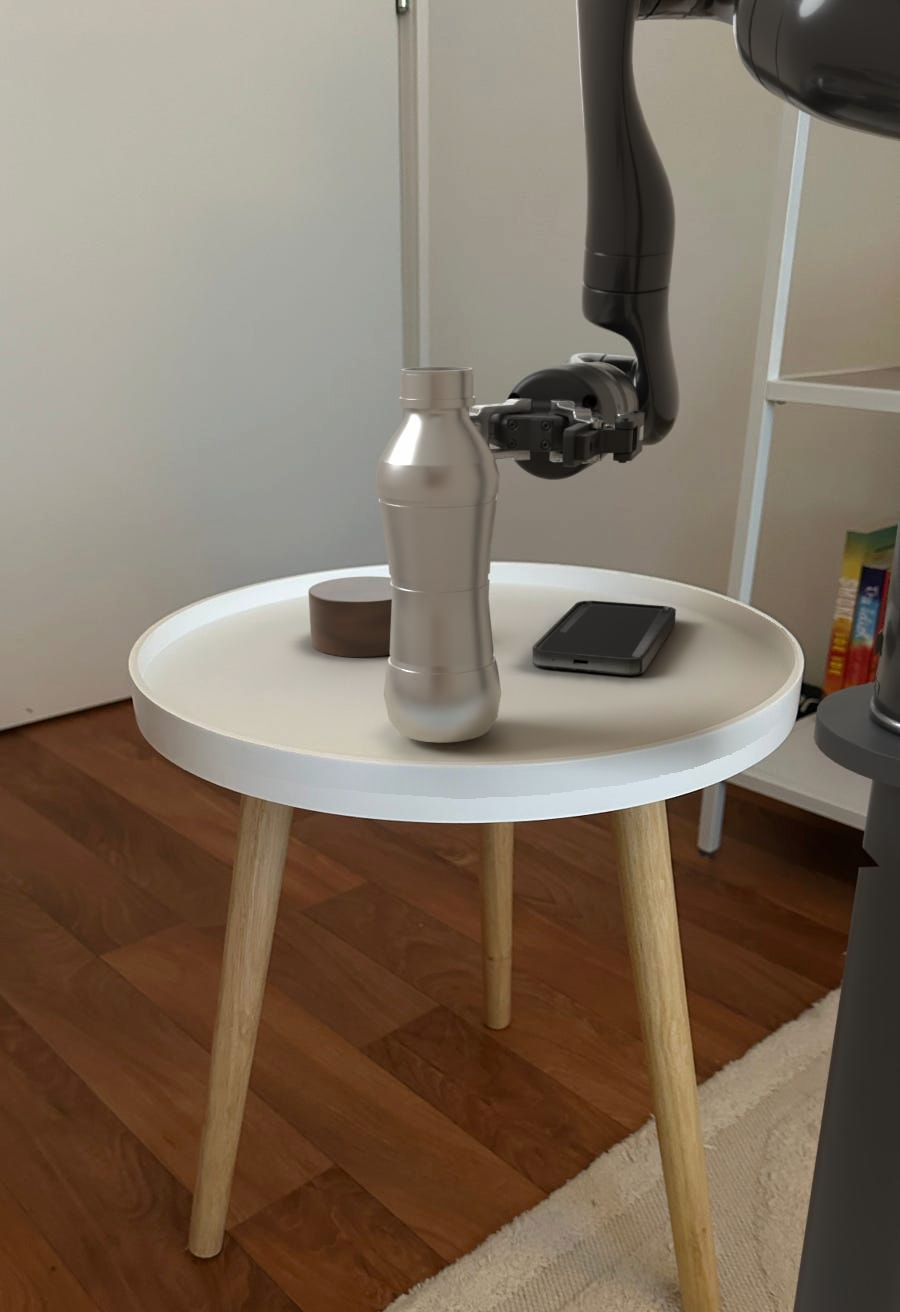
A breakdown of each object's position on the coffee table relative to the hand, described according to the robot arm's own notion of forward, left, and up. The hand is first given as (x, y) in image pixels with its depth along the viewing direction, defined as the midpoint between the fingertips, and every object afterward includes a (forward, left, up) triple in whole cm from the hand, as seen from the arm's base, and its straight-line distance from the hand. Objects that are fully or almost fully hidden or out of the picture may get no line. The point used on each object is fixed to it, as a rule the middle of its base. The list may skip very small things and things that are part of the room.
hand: (501, 446), depth 71 cm
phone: (-3, -11, -15) cm, 19 cm away
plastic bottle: (-2, +11, -15) cm, 19 cm away
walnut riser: (+13, -3, -15) cm, 20 cm away
